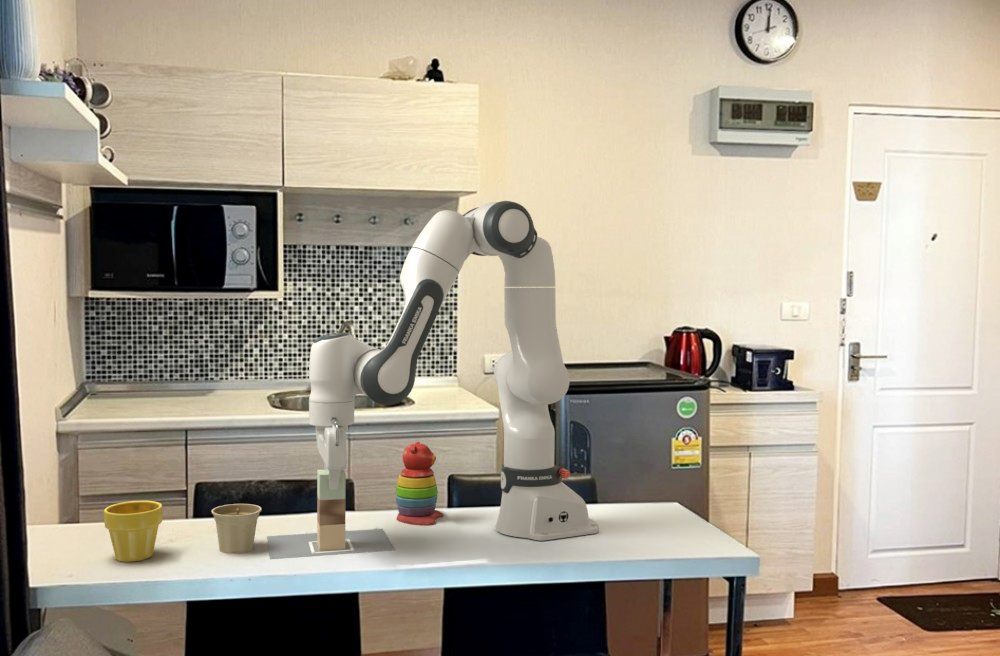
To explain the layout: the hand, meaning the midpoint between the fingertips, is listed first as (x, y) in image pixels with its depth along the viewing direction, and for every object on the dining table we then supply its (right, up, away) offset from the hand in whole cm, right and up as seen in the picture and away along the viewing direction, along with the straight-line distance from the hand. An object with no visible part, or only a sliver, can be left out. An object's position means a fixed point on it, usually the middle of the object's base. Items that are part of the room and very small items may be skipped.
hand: (331, 484), depth 176 cm
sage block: (0, -3, 0) cm, 3 cm away
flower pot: (-18, -13, -2) cm, 23 cm away
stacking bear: (+15, -13, +23) cm, 30 cm away
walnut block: (0, -8, 0) cm, 8 cm away
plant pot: (-37, -13, -5) cm, 40 cm away
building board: (-1, -13, +3) cm, 14 cm away
